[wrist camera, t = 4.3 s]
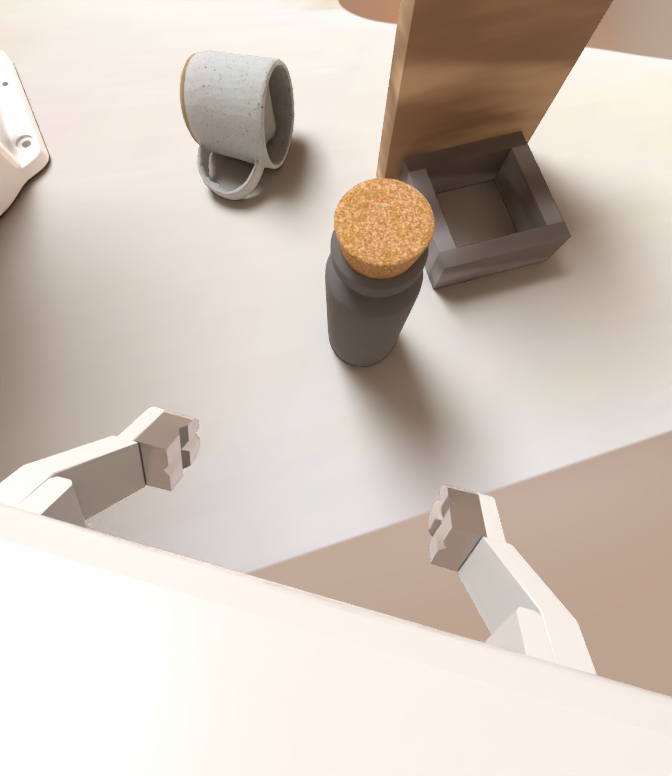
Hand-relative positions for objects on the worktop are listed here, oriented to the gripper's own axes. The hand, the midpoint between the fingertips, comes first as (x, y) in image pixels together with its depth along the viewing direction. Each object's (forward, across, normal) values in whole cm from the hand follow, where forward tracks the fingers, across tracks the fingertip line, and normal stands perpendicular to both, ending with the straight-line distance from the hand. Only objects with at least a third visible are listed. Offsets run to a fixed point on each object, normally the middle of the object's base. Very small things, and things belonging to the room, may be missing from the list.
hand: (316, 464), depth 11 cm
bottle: (+21, 0, +4) cm, 21 cm away
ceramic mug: (+32, +15, -6) cm, 36 cm away
